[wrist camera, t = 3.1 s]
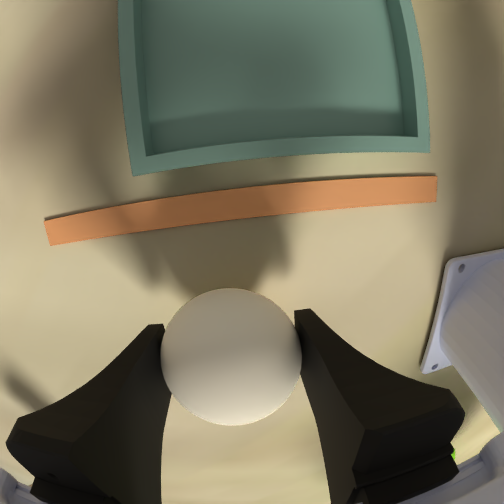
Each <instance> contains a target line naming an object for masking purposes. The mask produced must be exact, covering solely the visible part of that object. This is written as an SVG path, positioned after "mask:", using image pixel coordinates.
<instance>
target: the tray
mask: <svg viewBox="0 0 504 504" xmlns="http://www.w3.org/2000/svg"><path fill="white" fill-rule="evenodd" d="M118 43H119V63H120V77H121V90H122V100H123V110H124V119H125V127H126V135H127V143H128V150H129V156H130V163H131V169H132V175H133V176H138V175H144V174H149V173H155V172H160V171H166V170H172V169H179V168H185V167H192V166H199V165H206V164H214V163H221V162H230V161H238V160H247V159H257V158H268V157H280V156H292V155H307V154H326V153H353V152H419V153H430V130H429V112H428V99H427V89H426V80H425V72H424V64H423V57H422V51H421V45H420V40H419V34H418V29H417V24H416V20H415V15H414V11H413V7H412V3H411V0H118Z"/></svg>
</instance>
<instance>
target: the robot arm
mask: <svg viewBox="0 0 504 504" xmlns="http://www.w3.org/2000/svg"><path fill="white" fill-rule="evenodd" d="M460 265H461V266H460ZM459 266H460V268H459ZM294 318H295V329H296V331H297V334H298V336H299V340H300V344H301V351H302V364H301V371H300V375H301V378H302V381H303V384H304V387H305V390H306V393H307V396H308V399H309V402H310V405H311V408H312V410H313V413H314V416H315V420H316V423H317V427H318V432H319V437H320V442H321V447H322V452H323V457H324V462H325V468H326V474H327V480H328V486H329V492H330V499H331V504H504V249H499V250H494V251H489V252H483V253H478V254H473V255H467V256H462V257H456V258H452V259H450V260H449V261H448V262H447V264H446V266H445V270H444V276H443V281H442V286H441V291H440V296H439V301H438V305H437V309H436V314H435V318H434V322H433V326H432V329H431V333H430V337H429V340H428V344H427V347H426V351H425V354H424V357H423V360H422V364H421V367H420V370H421V372H422V373H423V374H428V373H431V372H434V371H437V370H440V369H442V368H445V367H448V366H451V365H453V366H454V368H455V369H456V370H457V372H458V373H459V374H460V376H461V377H462V378H463V380H464V381H465V382H466V384H467V385H468V386H469V388H470V389H471V390H472V392H473V393H474V395H475V396H476V397H477V399H478V400H479V402H480V403H481V405H482V406H483V407H484V409H485V410H486V412H487V413H488V415H489V416H490V418H491V419H492V421H493V422H494V424H495V425H496V427H497V428H498V430H499V431H500V434H499V435H497V436H495V437H494V438H493V439H491V440H490V441H489V442H488V443H487V444H486V445H485V446H484V447H483V448H482V450H481V451H480V453H479V454H477V455H476V456H474V457H472V458H470V459H468V460H466V461H465V462H463V463H461V464H459V465H456V463H455V461H454V459H453V457H452V455H451V454H453V452H454V448H453V446H452V445H451V443H450V442H451V440H452V439H453V437H454V436H455V434H456V433H457V431H458V430H459V428H460V427H461V425H462V423H463V421H464V417H465V412H464V410H463V408H462V407H461V405H460V403H459V402H458V400H457V399H456V397H455V396H454V395H453V393H452V392H451V391H450V390H449V389H445V388H441V387H437V386H433V385H429V384H425V383H422V382H419V381H416V380H414V379H411V378H408V377H406V376H403V375H401V374H398V373H396V372H394V371H392V370H390V369H388V368H386V367H384V366H382V365H380V364H378V363H376V362H375V361H373V360H371V359H370V358H368V357H366V356H365V355H363V354H362V353H360V352H359V351H357V350H356V349H355V348H353V347H352V346H351V345H349V344H348V343H347V342H346V341H344V340H343V339H342V338H341V337H340V336H339V335H337V334H336V333H335V332H334V331H333V330H332V329H331V328H330V327H329V326H328V325H326V324H325V323H324V322H323V321H322V320H321V319H320V318H319V317H318V316H317V315H316V314H315V312H314V311H312V310H311V309H303V310H295V311H294ZM164 333H165V329H164V325H163V324H151V325H148V326H147V327H146V328H145V329H144V330H143V331H142V332H141V333H140V334H139V335H138V336H137V337H136V338H135V339H134V340H133V341H132V342H131V343H130V344H129V345H128V346H127V347H126V348H125V349H124V350H123V351H122V352H121V353H120V354H119V355H118V356H117V357H116V358H115V359H114V360H113V361H112V362H111V363H110V364H109V365H108V366H107V367H106V368H105V369H103V370H102V371H101V372H100V373H99V374H98V375H96V376H95V377H94V378H92V379H91V380H90V381H89V382H87V383H86V384H85V385H83V386H82V387H80V388H79V389H77V390H75V391H74V392H72V393H71V394H69V395H68V396H66V397H64V398H63V399H61V400H59V401H57V402H55V403H53V404H51V405H49V406H47V407H45V408H43V409H41V410H38V411H36V412H33V413H30V414H28V415H25V416H22V417H19V418H18V419H17V421H16V423H15V425H14V427H13V429H12V431H11V433H10V435H9V437H8V439H7V441H6V446H7V449H8V450H9V452H10V453H11V455H12V456H13V457H14V458H15V459H16V460H17V461H18V462H19V463H20V464H21V465H22V466H23V467H24V468H26V469H27V470H28V471H29V472H30V473H31V474H32V475H33V476H34V477H35V479H34V482H33V484H32V487H30V486H27V485H25V484H22V483H20V482H18V481H17V480H16V479H15V478H14V477H13V476H12V475H11V474H9V473H8V472H7V471H5V470H4V469H2V468H0V504H162V502H161V455H162V441H163V433H164V427H165V422H166V417H167V412H168V408H169V403H170V399H171V394H172V393H171V391H170V390H169V388H168V386H167V384H166V381H165V379H164V376H163V372H162V368H161V356H160V354H161V344H162V340H163V336H164Z"/></svg>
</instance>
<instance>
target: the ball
mask: <svg viewBox="0 0 504 504" xmlns="http://www.w3.org/2000/svg"><path fill="white" fill-rule="evenodd" d="M160 356H161V368H162V372H163V376H164V379H165V381H166V384H167V386H168V388H169V390H170V391H171V393H172V394H173V396H174V397H175V398H176V400H177V401H178V402H179V403H180V404H181V405H182V406H183V407H184V408H185V409H187V410H188V411H189V412H190V413H192V414H194V415H195V416H197V417H199V418H201V419H203V420H206V421H208V422H211V423H215V424H220V425H244V424H249V423H252V422H256V421H258V420H261V419H263V418H265V417H267V416H269V415H270V414H272V413H273V412H274V411H276V410H277V409H278V408H279V407H280V406H282V405H283V404H284V402H285V401H286V400H287V399H288V397H289V396H290V395H291V393H292V392H293V390H294V388H295V386H296V383H297V381H298V378H299V375H300V371H301V364H302V351H301V344H300V340H299V336H298V334H297V331H296V329H295V327H294V325H293V323H292V322H291V320H290V319H289V317H288V316H287V315H286V313H285V312H284V311H283V310H282V309H281V308H280V307H279V306H278V305H276V304H275V303H274V302H273V301H271V300H270V299H268V298H266V297H265V296H262V295H260V294H258V293H255V292H252V291H249V290H245V289H239V288H222V289H216V290H212V291H208V292H205V293H203V294H201V295H198V296H196V297H195V298H193V299H191V300H190V301H189V302H187V303H186V304H185V305H184V306H182V307H181V308H180V309H179V310H178V311H177V312H176V314H175V315H174V316H173V318H172V319H171V321H170V322H169V324H168V326H167V328H166V331H165V333H164V336H163V340H162V344H161V354H160Z"/></svg>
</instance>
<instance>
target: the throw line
mask: <svg viewBox="0 0 504 504" xmlns="http://www.w3.org/2000/svg"><path fill="white" fill-rule="evenodd" d="M436 195H437V176H405V177H375V178H354V179H336V180H322V181H308V182H296V183H284V184H274V185H264V186H254V187H245V188H236V189H227V190H219V191H211V192H204V193H196V194H189V195H182V196H175V197H168V198H162V199H156V200H149V201H143V202H137V203H131V204H126V205H120V206H115V207H109V208H104V209H99V210H93V211H88V212H83V213H78V214H74V215H69V216H64V217H59V218H55V219H50V220H46V221H44V225H45V228H46V232H47V236H48V239H49V243H50V246H52V245H58V244H64V243H70V242H76V241H82V240H88V239H95V238H101V237H108V236H114V235H121V234H127V233H134V232H141V231H148V230H155V229H163V228H170V227H177V226H185V225H193V224H201V223H209V222H217V221H225V220H234V219H242V218H251V217H260V216H269V215H279V214H289V213H299V212H309V211H319V210H330V209H342V208H354V207H366V206H379V205H393V204H407V203H423V202H436Z"/></svg>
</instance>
